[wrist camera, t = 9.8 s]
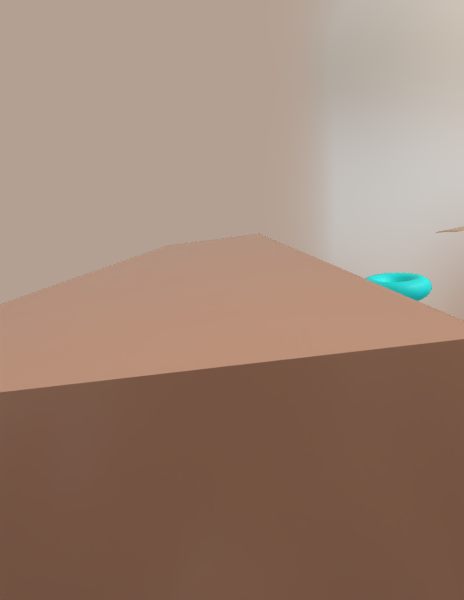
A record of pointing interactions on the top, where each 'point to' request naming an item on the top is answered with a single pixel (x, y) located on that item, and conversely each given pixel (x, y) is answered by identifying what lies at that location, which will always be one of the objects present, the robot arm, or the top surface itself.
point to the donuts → (404, 284)
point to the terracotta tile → (230, 433)
